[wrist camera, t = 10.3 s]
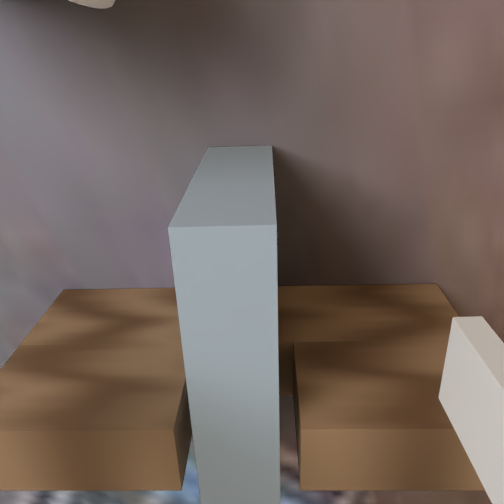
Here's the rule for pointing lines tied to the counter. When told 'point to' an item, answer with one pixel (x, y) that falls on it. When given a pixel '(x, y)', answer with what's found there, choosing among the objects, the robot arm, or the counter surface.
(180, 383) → the walnut board
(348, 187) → the counter surface
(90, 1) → the mug
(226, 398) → the grey flat rectangular block
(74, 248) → the counter surface
